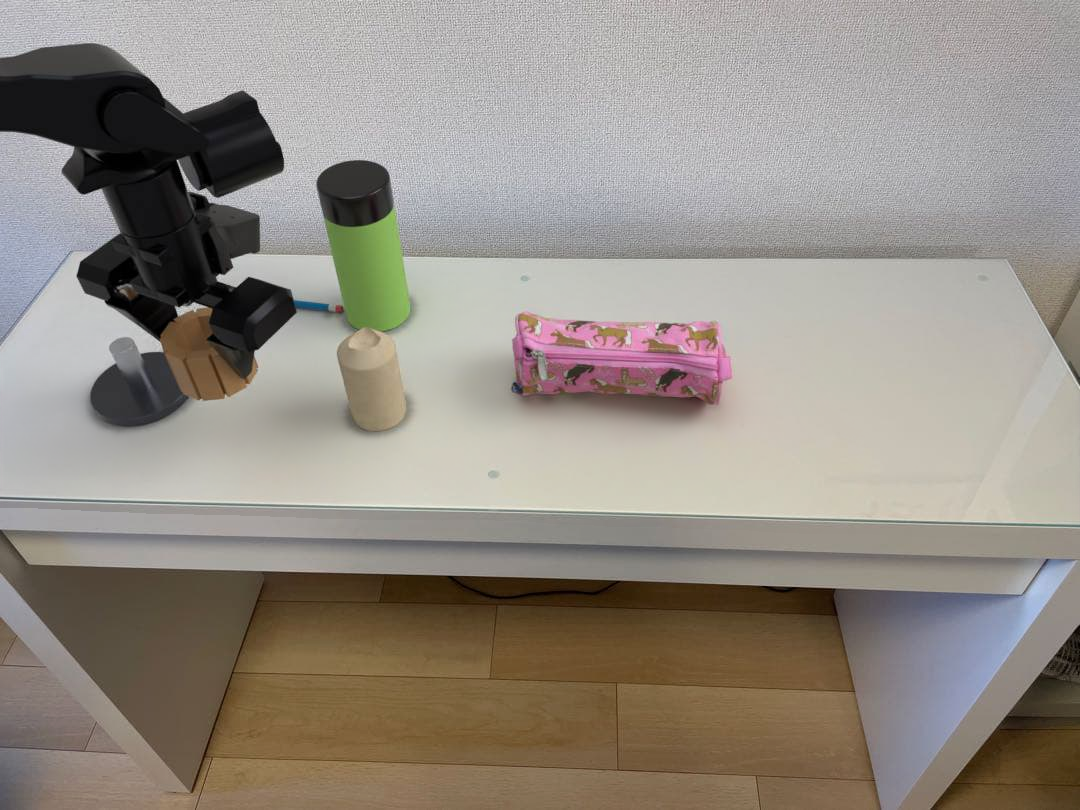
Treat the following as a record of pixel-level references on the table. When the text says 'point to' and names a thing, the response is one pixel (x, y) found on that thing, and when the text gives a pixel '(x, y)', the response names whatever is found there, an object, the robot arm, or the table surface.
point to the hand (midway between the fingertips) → (214, 363)
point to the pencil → (318, 306)
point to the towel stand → (135, 387)
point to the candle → (372, 379)
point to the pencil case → (619, 358)
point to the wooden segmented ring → (199, 359)
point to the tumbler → (365, 243)
